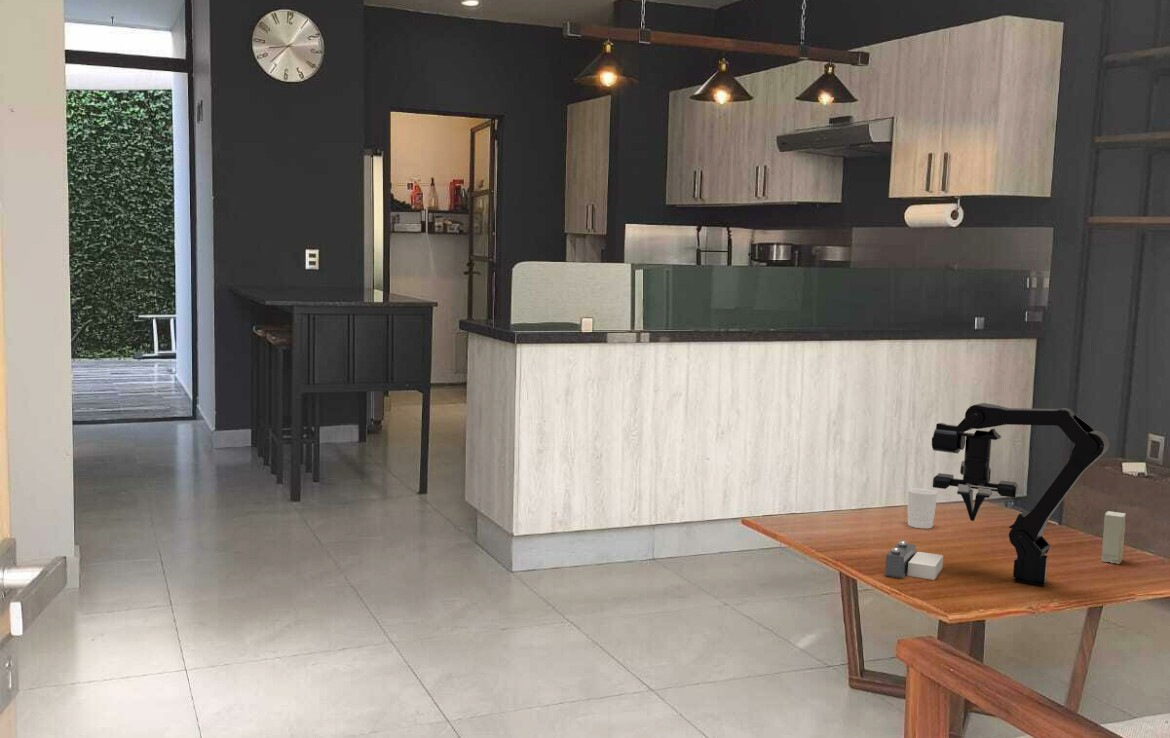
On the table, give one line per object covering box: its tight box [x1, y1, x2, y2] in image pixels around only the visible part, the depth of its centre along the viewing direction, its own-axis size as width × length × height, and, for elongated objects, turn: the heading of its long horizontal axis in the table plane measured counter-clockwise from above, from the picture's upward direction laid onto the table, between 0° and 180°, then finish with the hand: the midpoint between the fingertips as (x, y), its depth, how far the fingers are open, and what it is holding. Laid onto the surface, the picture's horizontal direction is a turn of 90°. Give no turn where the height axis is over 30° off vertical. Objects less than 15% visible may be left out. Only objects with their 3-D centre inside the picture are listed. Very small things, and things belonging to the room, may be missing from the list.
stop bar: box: [884, 540, 917, 579], centre depth 259 cm, size 4×14×6 cm, turn 152°
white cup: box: [906, 487, 938, 530], centre depth 307 cm, size 8×8×10 cm
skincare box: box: [1100, 510, 1127, 565], centre depth 276 cm, size 6×4×12 cm
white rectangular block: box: [906, 551, 944, 581], centre depth 258 cm, size 6×12×4 cm, turn 153°
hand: (972, 520), depth 261 cm, fingers closed
